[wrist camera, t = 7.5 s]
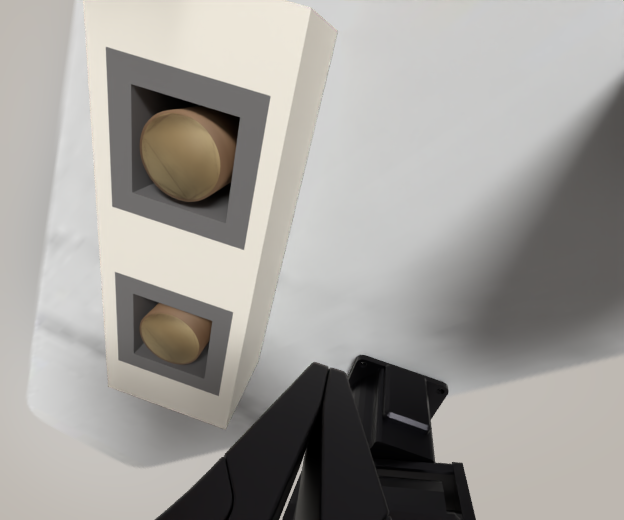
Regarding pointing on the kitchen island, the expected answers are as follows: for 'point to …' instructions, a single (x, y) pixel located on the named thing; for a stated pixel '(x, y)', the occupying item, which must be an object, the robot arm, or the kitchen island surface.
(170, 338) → the peg far
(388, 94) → the kitchen island surface
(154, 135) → the peg near
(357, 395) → the robot arm
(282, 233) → the white peg holder block
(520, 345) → the kitchen island surface
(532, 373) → the kitchen island surface
